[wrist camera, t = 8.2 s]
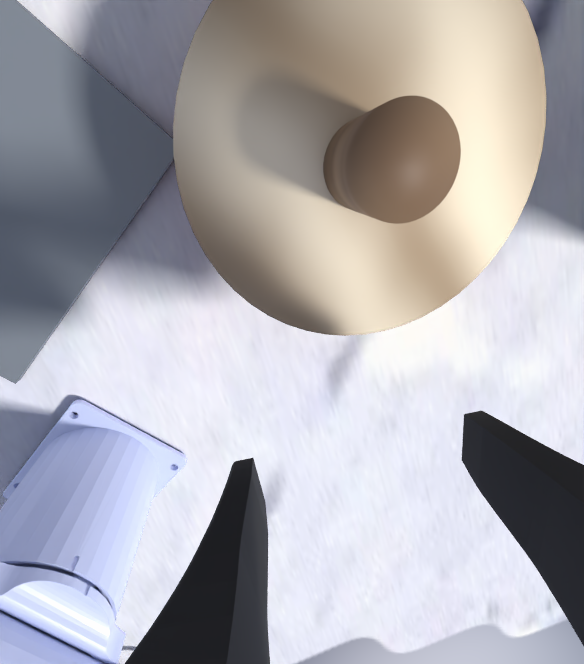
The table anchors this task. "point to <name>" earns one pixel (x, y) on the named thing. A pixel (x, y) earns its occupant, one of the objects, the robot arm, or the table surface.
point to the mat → (61, 179)
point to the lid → (357, 151)
